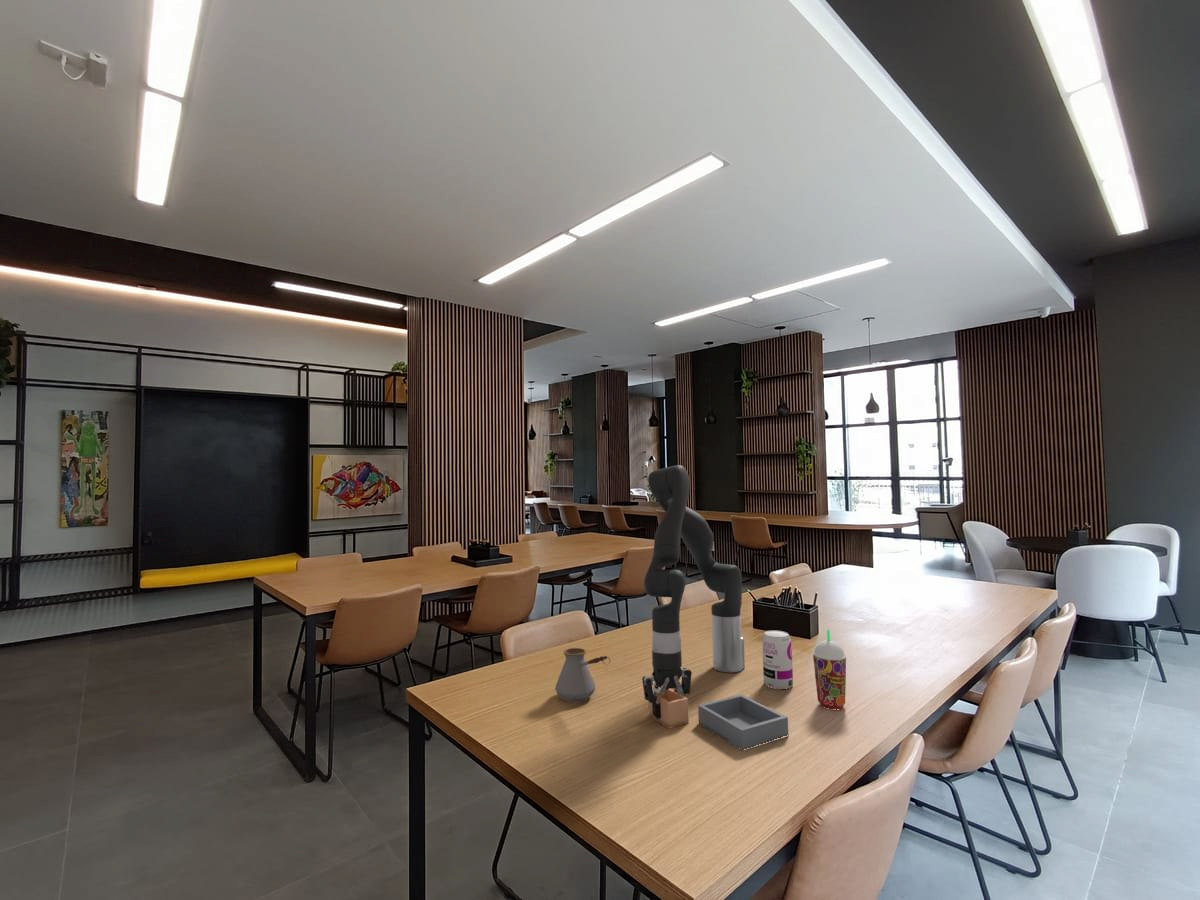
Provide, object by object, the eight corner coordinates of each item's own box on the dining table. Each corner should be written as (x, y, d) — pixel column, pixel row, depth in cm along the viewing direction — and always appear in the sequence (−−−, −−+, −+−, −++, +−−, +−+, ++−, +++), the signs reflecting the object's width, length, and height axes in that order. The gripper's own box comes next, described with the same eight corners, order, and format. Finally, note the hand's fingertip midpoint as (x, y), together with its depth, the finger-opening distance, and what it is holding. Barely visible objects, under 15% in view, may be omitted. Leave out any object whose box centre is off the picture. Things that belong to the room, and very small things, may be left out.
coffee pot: (547, 696, 156) (547, 642, 157) (580, 686, 162) (580, 635, 163) (590, 721, 138) (589, 661, 139) (625, 709, 145) (624, 652, 146)
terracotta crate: (668, 710, 144) (667, 687, 145) (688, 723, 136) (687, 698, 137) (649, 715, 142) (648, 691, 142) (668, 728, 134) (668, 703, 134)
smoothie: (834, 715, 139) (830, 635, 140) (807, 704, 147) (804, 628, 148) (855, 708, 143) (852, 631, 144) (829, 697, 150) (826, 624, 152)
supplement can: (794, 682, 162) (792, 631, 163) (791, 692, 155) (789, 638, 156) (766, 678, 166) (764, 628, 167) (762, 688, 158) (760, 635, 159)
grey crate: (741, 712, 142) (741, 694, 143) (788, 736, 128) (787, 717, 128) (698, 723, 136) (698, 705, 136) (742, 751, 122) (742, 730, 122)
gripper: (680, 640, 147) (682, 703, 146) (635, 648, 140) (636, 715, 139) (698, 647, 140) (700, 714, 139) (650, 656, 134) (652, 726, 133)
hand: (668, 714), depth 139 cm, fingers closed on terracotta crate, 6 cm apart
